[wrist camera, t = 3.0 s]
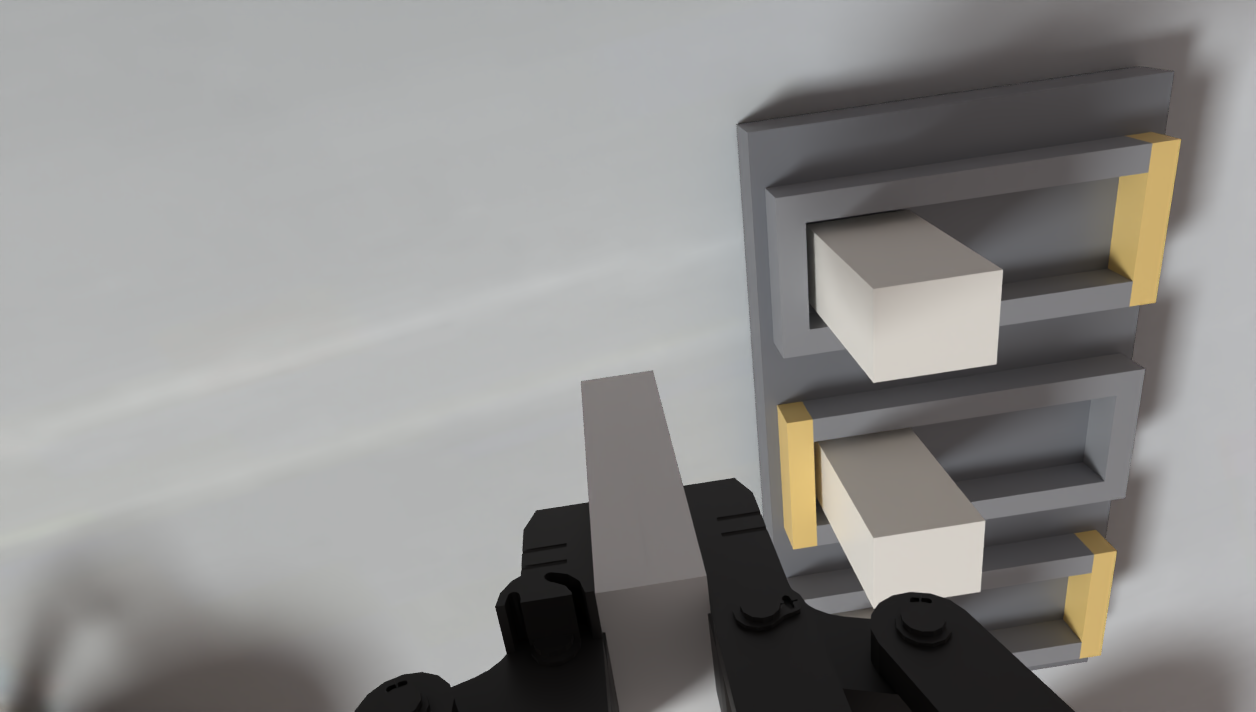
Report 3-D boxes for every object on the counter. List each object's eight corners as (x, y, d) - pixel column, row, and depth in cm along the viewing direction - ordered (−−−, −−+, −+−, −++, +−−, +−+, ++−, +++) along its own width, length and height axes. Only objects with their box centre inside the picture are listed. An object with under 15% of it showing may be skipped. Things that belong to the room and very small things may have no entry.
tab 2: (813, 433, 26) (873, 538, 21) (904, 419, 27) (985, 520, 22) (815, 495, 27) (873, 608, 22) (903, 481, 28) (980, 591, 23)
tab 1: (805, 224, 24) (873, 289, 19) (908, 209, 24) (1003, 269, 19) (808, 301, 25) (873, 382, 20) (906, 287, 25) (996, 364, 20)
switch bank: (736, 124, 24) (757, 140, 21) (1139, 66, 24) (1205, 75, 22) (774, 679, 33) (792, 735, 31) (1065, 633, 33) (1106, 685, 31)
